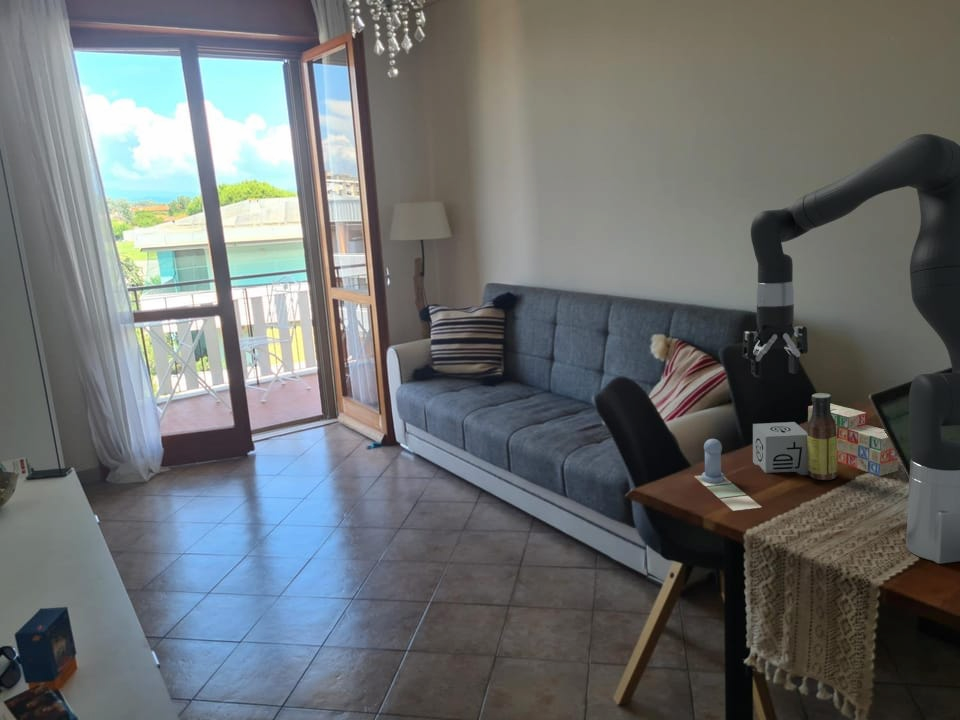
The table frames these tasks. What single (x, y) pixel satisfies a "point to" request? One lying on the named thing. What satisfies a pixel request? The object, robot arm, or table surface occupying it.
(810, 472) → the sauce bottle
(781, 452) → the icon cube
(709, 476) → the pawn
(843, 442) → the stack of blocks
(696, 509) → the table surface
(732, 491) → the board
